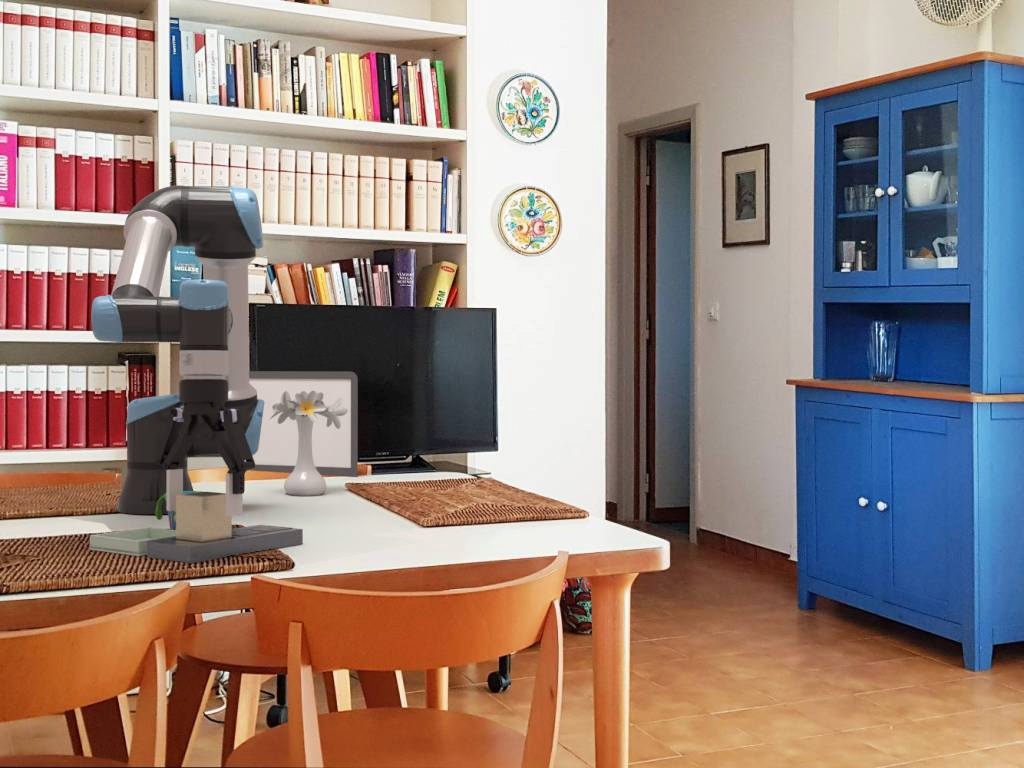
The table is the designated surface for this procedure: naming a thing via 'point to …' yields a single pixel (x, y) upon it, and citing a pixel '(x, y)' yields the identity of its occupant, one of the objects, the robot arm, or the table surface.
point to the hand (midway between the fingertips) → (203, 512)
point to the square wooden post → (202, 517)
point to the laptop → (329, 444)
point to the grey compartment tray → (226, 544)
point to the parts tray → (129, 540)
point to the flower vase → (306, 438)
